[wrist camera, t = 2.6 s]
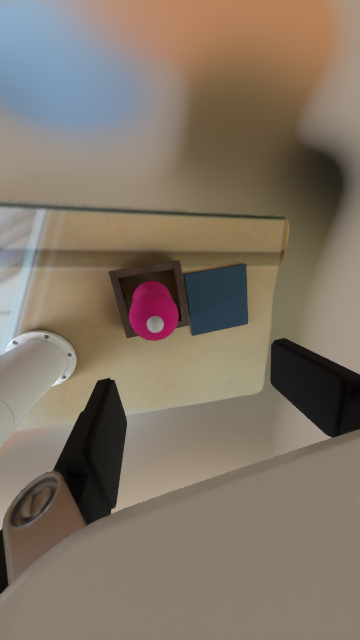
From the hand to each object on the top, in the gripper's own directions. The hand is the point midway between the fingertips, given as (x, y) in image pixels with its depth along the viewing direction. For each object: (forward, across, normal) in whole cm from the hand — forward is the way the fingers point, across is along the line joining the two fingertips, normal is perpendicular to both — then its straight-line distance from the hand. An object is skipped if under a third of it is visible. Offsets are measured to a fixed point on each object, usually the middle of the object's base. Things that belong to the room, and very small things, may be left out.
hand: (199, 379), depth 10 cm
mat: (+28, -13, +2) cm, 31 cm away
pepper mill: (+28, +2, -1) cm, 28 cm away
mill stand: (+28, +2, -1) cm, 28 cm away
